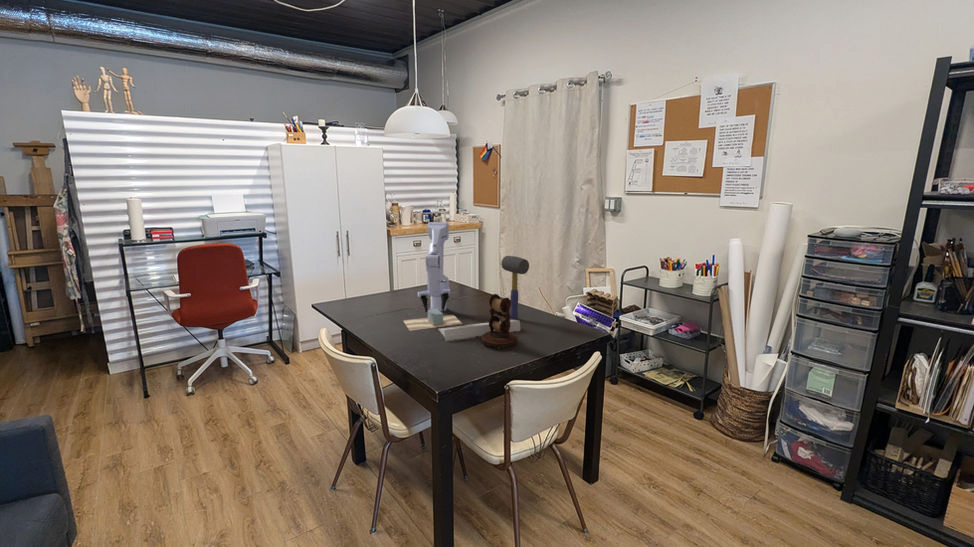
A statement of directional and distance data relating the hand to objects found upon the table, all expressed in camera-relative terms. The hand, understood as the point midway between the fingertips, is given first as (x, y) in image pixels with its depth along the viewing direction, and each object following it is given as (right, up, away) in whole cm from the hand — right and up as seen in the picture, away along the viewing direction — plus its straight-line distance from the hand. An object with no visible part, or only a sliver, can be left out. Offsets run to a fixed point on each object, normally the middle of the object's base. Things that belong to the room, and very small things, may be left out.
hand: (434, 310), depth 204 cm
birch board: (-1, -7, +1) cm, 7 cm away
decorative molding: (+20, -9, -6) cm, 23 cm away
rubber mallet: (+36, -5, +10) cm, 38 cm away
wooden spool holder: (+29, -12, -19) cm, 36 cm away
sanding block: (0, -5, 0) cm, 5 cm away
